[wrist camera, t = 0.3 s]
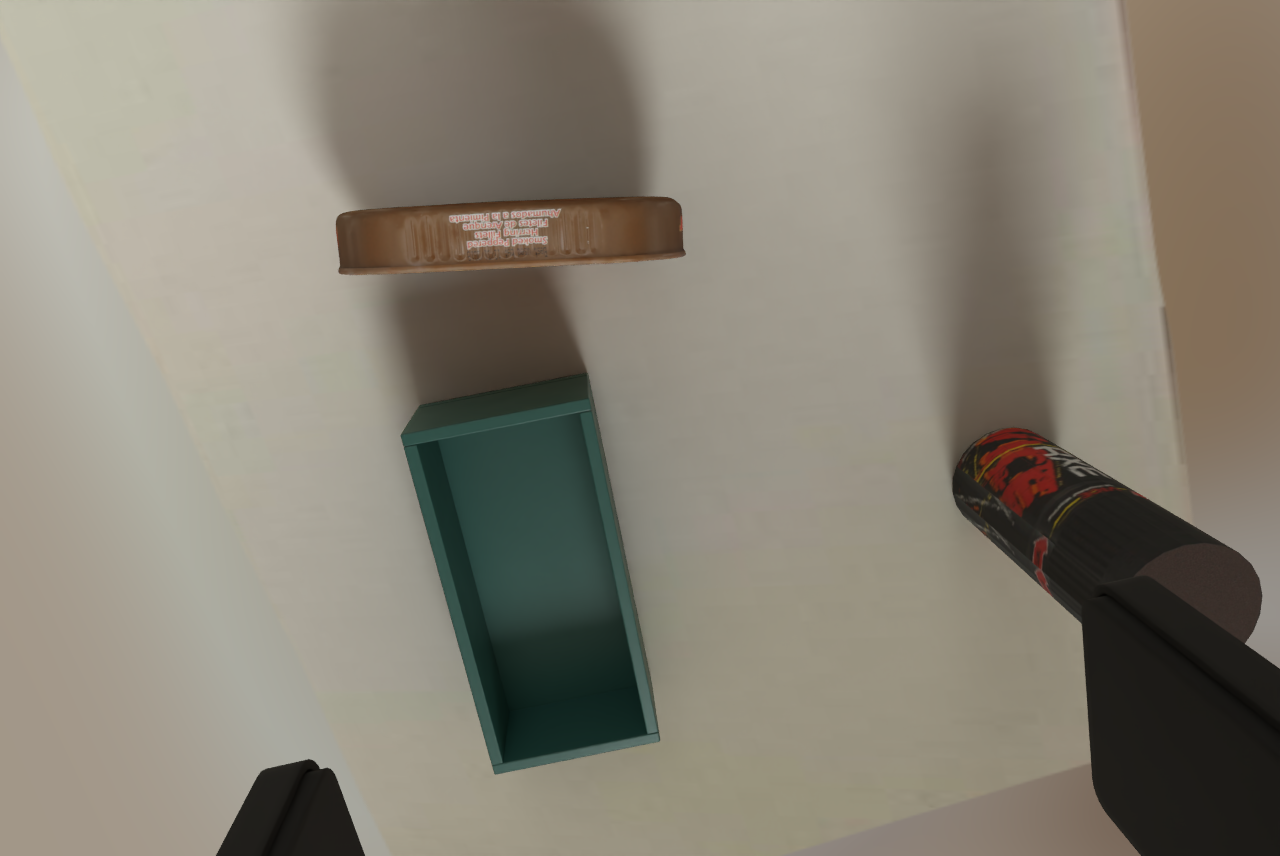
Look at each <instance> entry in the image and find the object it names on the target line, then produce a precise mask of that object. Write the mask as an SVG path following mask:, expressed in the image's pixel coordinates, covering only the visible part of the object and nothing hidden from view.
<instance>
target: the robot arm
mask: <svg viewBox="0 0 1280 856" xmlns="http://www.w3.org/2000/svg"><path fill="white" fill-rule="evenodd" d="M1081 616H1082V631H1083V646H1084V661H1085V676H1086V691H1087V706H1088V721H1089V736H1090V751H1091V766H1092V779H1093V785H1094V789H1095V792H1096V795H1097V797H1098V800H1099V802H1100V804H1101V805H1102V807H1103V809H1104V811H1105V812H1106V813H1107V815H1108V816H1109V817H1110V818H1111V820H1112V821H1113V822H1114V823H1115V824H1116V826H1117V827H1118V828H1119V829H1120V831H1121V832H1122V833H1123V834H1124V835H1125V837H1126V838H1127V839H1128V840H1129V841H1130V843H1131V844H1132V845H1133V846H1134V848H1135V849H1136V850H1137V851H1138V852H1139V854H1140V855H1141V856H1280V669H1279V668H1278V667H1276V666H1275V665H1274V664H1272V663H1271V662H1269V661H1268V660H1267V659H1265V658H1264V657H1262V656H1261V655H1259V654H1258V653H1257V652H1255V651H1254V650H1253V649H1251V648H1250V647H1248V646H1247V645H1245V644H1244V643H1243V642H1241V641H1240V640H1239V639H1237V638H1236V637H1234V636H1233V635H1231V634H1230V633H1229V632H1227V631H1226V630H1224V629H1223V628H1222V627H1220V626H1219V625H1217V624H1216V623H1215V622H1213V621H1212V620H1210V619H1209V618H1208V617H1206V616H1205V615H1203V614H1202V613H1201V612H1199V611H1198V610H1196V609H1195V608H1194V607H1192V606H1191V605H1189V604H1188V603H1187V602H1185V601H1184V600H1182V599H1181V598H1179V597H1178V596H1177V595H1175V594H1174V593H1172V592H1171V591H1170V590H1168V589H1167V588H1165V587H1164V586H1163V585H1161V584H1160V583H1158V582H1157V581H1156V580H1154V579H1153V578H1151V577H1149V576H1147V575H1140V576H1136V577H1131V578H1127V579H1122V580H1118V581H1113V582H1108V583H1104V584H1099V585H1097V586H1096V587H1095V588H1094V591H1093V593H1092V599H1088V600H1085V601H1084V602H1083V604H1082V608H1081ZM216 856H365V854H364V852H363V849H362V846H361V844H360V841H359V838H358V835H357V833H356V830H355V827H354V824H353V822H352V819H351V816H350V814H349V811H348V808H347V806H346V803H345V800H344V798H343V794H342V792H341V789H340V786H339V784H338V781H337V779H336V776H335V774H334V773H333V771H332V770H331V769H329V768H324V769H319V766H318V765H317V764H316V762H314V761H313V760H310V759H308V760H304V761H299V762H295V763H291V764H286V765H281V766H277V767H272V768H268V769H265V770H263V771H262V772H261V773H260V774H259V775H258V777H257V779H256V780H255V782H254V784H253V786H252V788H251V790H250V792H249V794H248V796H247V797H246V799H245V801H244V803H243V805H242V807H241V809H240V811H239V813H238V815H237V816H236V818H235V820H234V822H233V824H232V826H231V828H230V830H229V832H228V834H227V836H226V838H225V839H224V841H223V843H222V845H221V847H220V849H219V851H218V853H217V855H216Z"/></svg>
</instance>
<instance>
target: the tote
mask: <svg viewBox="0 0 1280 856" xmlns="http://www.w3.org/2000/svg"><path fill="white" fill-rule="evenodd" d="M401 439H402V442H403V446H405V447H404V450H405V453H406V457H407V461H408V464H409V468H410V471H411V475H412V479H413V482H414V486H415V489H416V493H417V497H418V500H419V504H420V508H421V511H422V515H423V518H424V522H425V526H426V529H427V533H428V536H429V540H430V544H431V547H432V551H433V554H434V558H435V562H436V565H437V569H438V572H439V576H440V580H441V583H442V587H443V590H444V594H445V598H446V601H447V605H448V608H449V612H450V616H451V619H452V623H453V627H454V630H455V634H456V637H457V641H458V645H459V648H460V652H461V655H462V659H463V663H464V666H465V670H466V673H467V677H468V681H469V684H470V688H471V691H472V695H473V699H474V702H475V706H476V709H477V713H478V717H479V720H480V724H481V727H482V731H483V735H484V738H485V742H486V745H487V749H488V753H489V756H490V760H491V764H492V767H493V770H494V774H501V773H505V772H510V771H515V770H520V769H525V768H530V767H535V766H540V765H545V764H550V763H555V762H560V761H565V760H570V759H575V758H580V757H585V756H590V755H595V754H600V753H605V752H610V751H615V750H620V749H625V748H630V747H635V746H640V745H645V744H650V743H655V742H659V741H660V736H659V729H658V722H657V715H656V709H655V702H654V695H653V688H652V683H651V678H650V673H649V668H648V663H647V658H646V653H645V649H644V644H643V639H642V634H641V629H640V624H639V619H638V614H637V610H636V605H635V600H634V595H633V590H632V585H631V580H630V576H629V571H628V566H627V561H626V556H625V551H624V546H623V542H622V537H621V532H620V527H619V522H618V517H617V512H616V508H615V503H614V498H613V493H612V488H611V483H610V478H609V474H608V469H607V464H606V459H605V454H604V449H603V444H602V439H601V435H600V430H599V425H598V420H597V415H596V410H595V405H594V401H593V396H592V391H591V386H590V381H589V376H588V373H583V374H578V375H573V376H568V377H563V378H558V379H552V380H547V381H542V382H537V383H532V384H527V385H522V386H517V387H511V388H506V389H501V390H496V391H491V392H486V393H481V394H475V395H470V396H465V397H460V398H455V399H450V400H445V401H439V402H434V403H429V404H424V405H420V406H419V407H418V409H417V410H416V412H415V413H414V415H413V417H412V418H411V420H410V421H409V423H408V424H407V426H406V428H405V429H404V431H403V432H402V434H401Z"/></svg>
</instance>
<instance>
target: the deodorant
mask: <svg viewBox="0 0 1280 856" xmlns="http://www.w3.org/2000/svg"><path fill="white" fill-rule="evenodd" d="M953 495H954V498H955V502H956V505H957V507H958V508H959V510H960V511H961V513H962V514H963V516H965V517H966V518H967V519H968V520H969V521H970V522H971V523H972V524H973V525H974V526H975V527H977V528H978V529H979V530H980V531H981V532H982V533H983V534H984V535H985V536H986V537H988V538H989V539H990V540H991V541H992V542H993V543H994V544H995V545H996V546H997V547H998V548H1000V549H1001V550H1002V551H1003V552H1004V553H1005V554H1006V555H1007V556H1008V557H1009V558H1011V559H1012V560H1013V561H1014V562H1015V563H1016V564H1017V565H1018V566H1019V567H1020V568H1021V569H1023V570H1024V571H1025V572H1026V573H1027V574H1028V575H1029V576H1030V577H1031V578H1032V579H1034V580H1035V581H1036V582H1037V583H1038V584H1039V585H1040V586H1041V587H1042V588H1043V589H1045V590H1046V591H1047V592H1048V593H1049V594H1050V595H1051V596H1052V597H1053V598H1054V599H1055V600H1057V601H1058V602H1059V603H1060V604H1061V605H1062V606H1063V607H1064V608H1065V609H1066V610H1068V611H1069V612H1070V613H1071V614H1072V615H1073V616H1074V617H1075V618H1076V619H1077V620H1078V621H1080V622H1081V623H1082V616H1081V608H1082V604H1083V602H1084V601H1085V600H1088V599H1092V593H1093V591H1094V588H1095V587H1096V586H1097V585H1099V584H1104V583H1108V582H1113V581H1118V580H1122V579H1127V578H1131V577H1136V576H1140V575H1147V576H1149V577H1151V578H1153V579H1154V580H1156V581H1157V582H1158V583H1160V584H1161V585H1163V586H1164V587H1165V588H1167V589H1168V590H1170V591H1171V592H1172V593H1174V594H1175V595H1177V596H1178V597H1179V598H1181V599H1182V600H1184V601H1185V602H1187V603H1188V604H1189V605H1191V606H1192V607H1194V608H1195V609H1196V610H1198V611H1199V612H1201V613H1202V614H1203V615H1205V616H1206V617H1208V618H1209V619H1210V620H1212V621H1213V622H1215V623H1216V624H1217V625H1219V626H1220V627H1222V628H1223V629H1224V630H1226V631H1227V632H1229V633H1230V634H1231V635H1233V636H1234V637H1236V638H1237V639H1239V640H1240V641H1241V642H1243V643H1244V644H1245V642H1246V641H1247V639H1248V638H1249V637H1250V635H1251V634H1252V632H1253V630H1254V628H1255V625H1256V623H1257V620H1258V618H1259V615H1260V610H1261V602H1262V591H1261V586H1260V580H1259V577H1258V575H1257V574H1256V572H1255V570H1254V568H1253V566H1252V565H1251V564H1250V562H1248V561H1247V560H1246V559H1245V558H1244V557H1243V556H1242V555H1241V554H1240V553H1238V552H1237V551H1235V550H1233V549H1232V548H1230V547H1228V546H1226V545H1225V544H1223V543H1221V542H1220V541H1218V540H1216V539H1215V538H1213V537H1211V536H1210V535H1208V534H1206V533H1204V532H1203V531H1201V530H1199V529H1198V528H1196V527H1194V526H1193V525H1191V524H1189V523H1188V522H1186V521H1184V520H1182V519H1181V518H1179V517H1177V516H1176V515H1174V514H1172V513H1171V512H1169V511H1167V510H1165V509H1164V508H1162V507H1160V506H1159V505H1157V504H1155V503H1154V502H1152V501H1150V500H1149V499H1147V498H1145V497H1143V496H1142V495H1140V494H1138V493H1137V492H1135V491H1133V490H1132V489H1130V488H1128V487H1127V486H1125V485H1123V484H1121V483H1120V482H1118V481H1116V480H1115V479H1113V478H1111V477H1110V476H1108V475H1106V474H1104V473H1103V472H1101V471H1099V470H1098V469H1096V468H1094V467H1093V466H1091V465H1089V464H1088V463H1086V462H1084V461H1082V460H1081V459H1079V458H1077V457H1076V456H1074V455H1072V454H1071V453H1069V452H1067V451H1066V450H1064V449H1062V448H1060V447H1059V446H1057V445H1055V444H1054V443H1052V442H1050V441H1049V440H1047V439H1045V438H1043V437H1042V436H1040V435H1038V434H1036V433H1034V432H1032V431H1029V430H1027V429H1020V428H1006V429H999V430H996V431H994V432H991V433H988V434H986V435H984V436H983V437H981V438H980V439H978V440H977V441H975V442H974V443H973V444H972V445H971V446H970V447H969V448H968V449H967V450H966V452H965V453H964V454H963V456H962V457H961V459H960V461H959V463H958V465H957V467H956V470H955V474H954V477H953Z"/></svg>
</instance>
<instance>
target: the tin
mask: <svg viewBox="0 0 1280 856" xmlns="http://www.w3.org/2000/svg"><path fill="white" fill-rule="evenodd" d="M336 234H337V242H338V250H339V258H340V267H339V273H340V274H345V275H367V274H373V275H374V274H402V273H403V274H406V273H426V272H445V271H467V270H483V269H501V268H523V267H542V266H562V265H585V264H607V263H621V262H638V261H648V260H663V259H671V258H678V257H682V256H685V255H686V253H685V250H684V249H683V228H682V209H681V206H680V204H679V203H677V202H676V201H675V200H674V199H671V198H668V197H613V198H580V199H553V200H525V201H499V202H481V203H462V204H446V205H431V206H413V207H396V208H382V209H368V210H358V211H350V212H345V213H342V214H340V215H339V216H338V217H337V220H336Z"/></svg>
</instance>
